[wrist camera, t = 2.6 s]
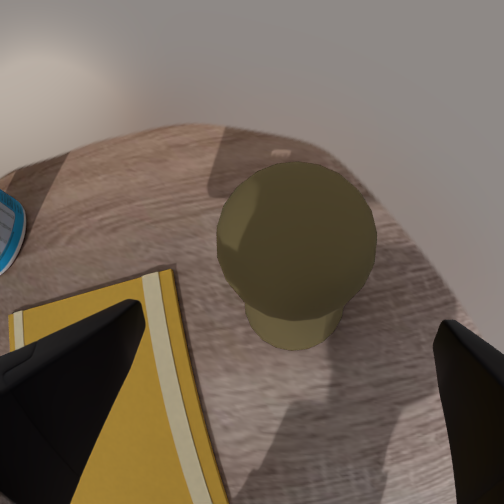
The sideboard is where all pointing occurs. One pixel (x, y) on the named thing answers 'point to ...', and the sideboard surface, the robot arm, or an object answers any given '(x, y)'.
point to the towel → (141, 403)
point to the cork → (296, 250)
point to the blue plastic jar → (10, 229)
